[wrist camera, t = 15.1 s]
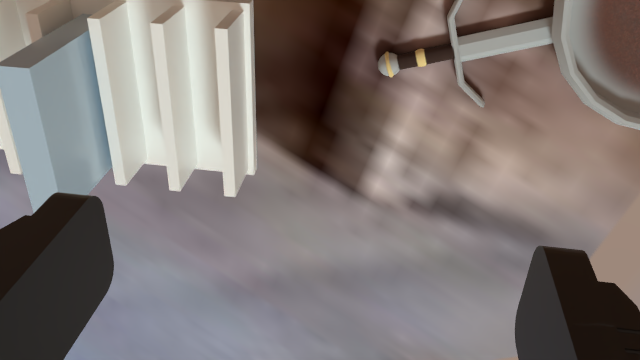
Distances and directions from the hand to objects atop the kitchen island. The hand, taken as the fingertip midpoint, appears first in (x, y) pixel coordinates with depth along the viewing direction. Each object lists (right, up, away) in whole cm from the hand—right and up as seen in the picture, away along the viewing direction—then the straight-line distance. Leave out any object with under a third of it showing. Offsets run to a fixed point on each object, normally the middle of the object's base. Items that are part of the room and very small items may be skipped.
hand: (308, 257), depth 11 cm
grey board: (-15, +8, +32) cm, 36 cm away
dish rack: (-15, +9, +32) cm, 37 cm away
